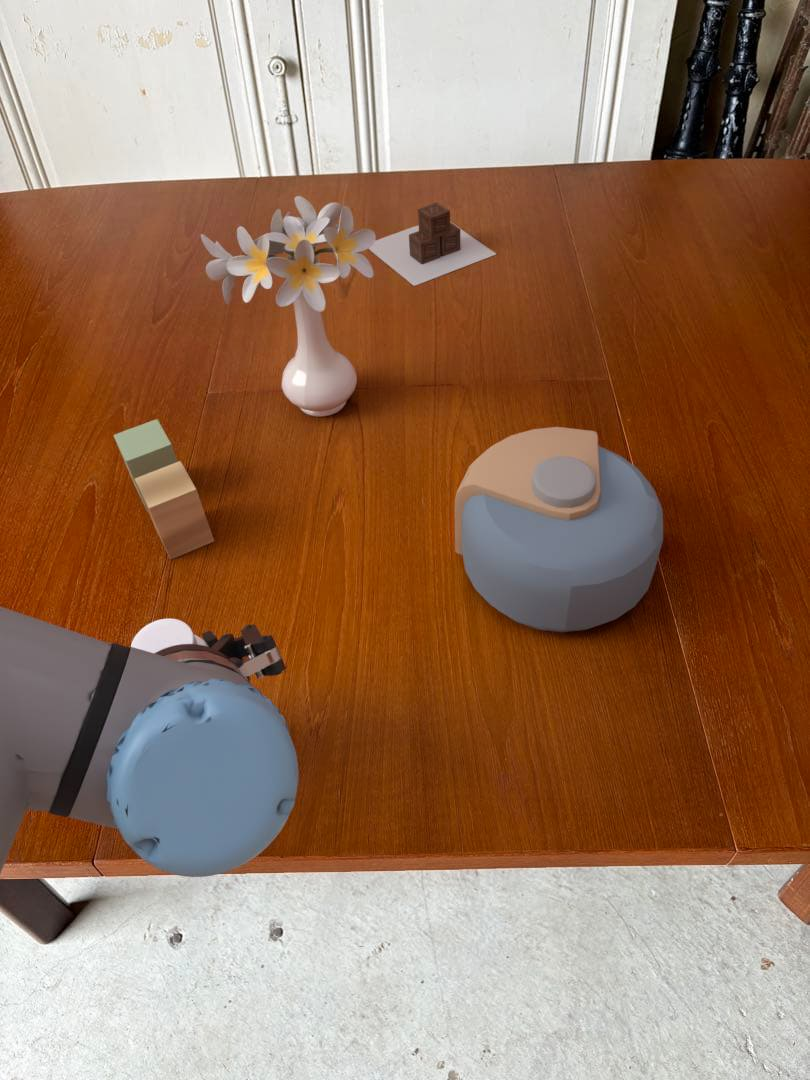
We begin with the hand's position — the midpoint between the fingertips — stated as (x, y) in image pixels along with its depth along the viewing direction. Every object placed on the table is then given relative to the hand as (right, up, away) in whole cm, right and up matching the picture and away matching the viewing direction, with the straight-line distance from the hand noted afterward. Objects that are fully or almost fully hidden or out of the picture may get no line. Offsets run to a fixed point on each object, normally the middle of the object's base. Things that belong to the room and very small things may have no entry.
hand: (173, 664), depth 68 cm
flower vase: (+8, +27, +35) cm, 45 cm away
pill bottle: (+2, -5, +1) cm, 5 cm away
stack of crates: (+23, +55, +58) cm, 84 cm away
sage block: (-9, +16, +26) cm, 31 cm away
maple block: (-5, +11, +21) cm, 24 cm away
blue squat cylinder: (+35, +8, +16) cm, 39 cm away
